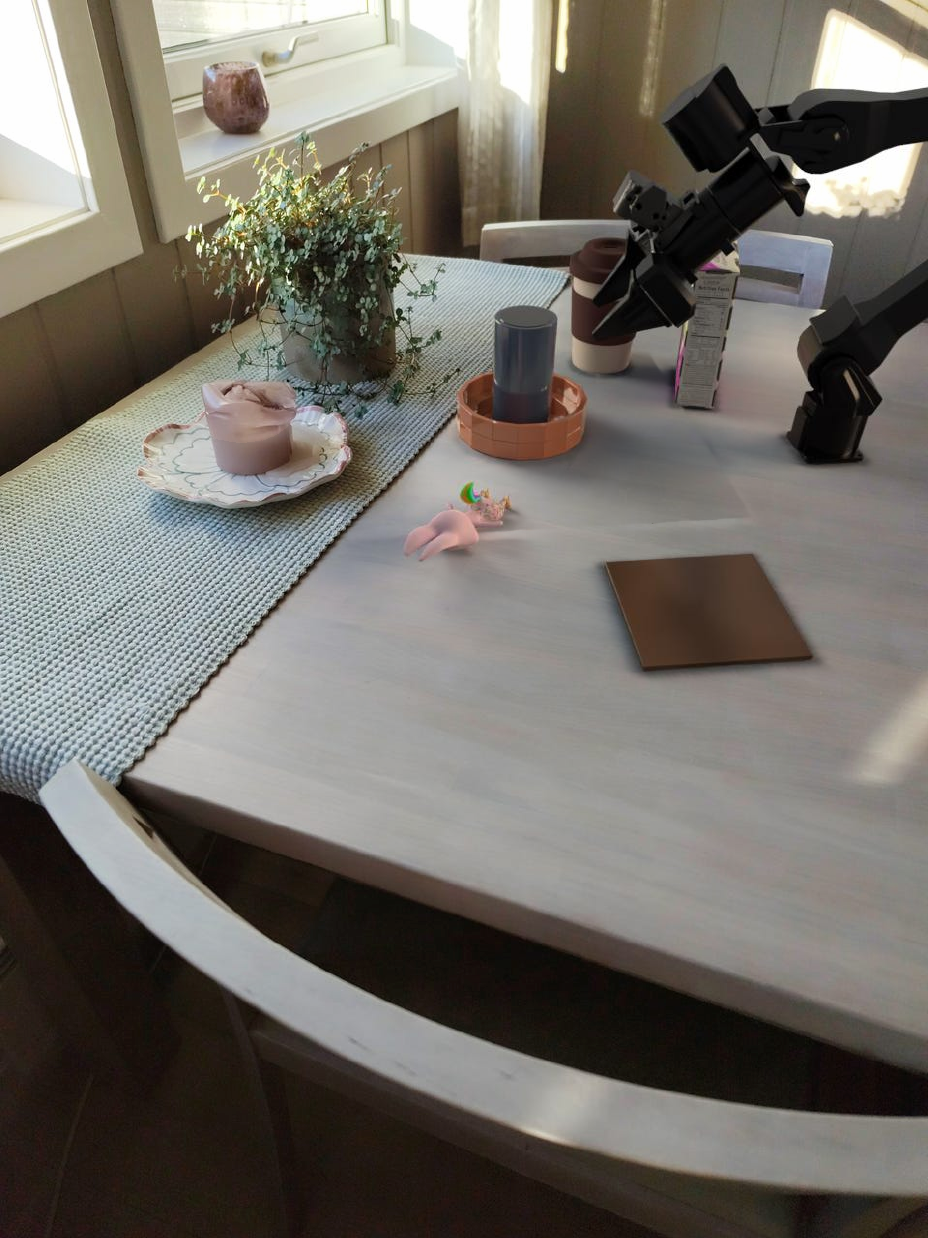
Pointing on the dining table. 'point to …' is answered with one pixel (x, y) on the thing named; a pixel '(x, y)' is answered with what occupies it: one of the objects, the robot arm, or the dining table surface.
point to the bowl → (521, 437)
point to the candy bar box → (706, 332)
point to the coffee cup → (596, 308)
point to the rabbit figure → (457, 524)
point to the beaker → (523, 364)
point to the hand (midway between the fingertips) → (594, 320)
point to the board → (704, 612)
